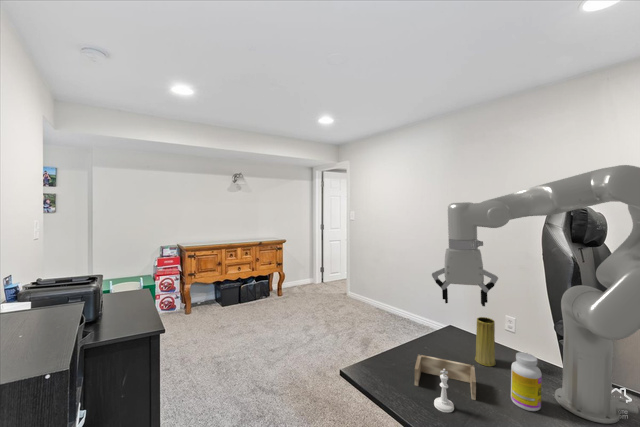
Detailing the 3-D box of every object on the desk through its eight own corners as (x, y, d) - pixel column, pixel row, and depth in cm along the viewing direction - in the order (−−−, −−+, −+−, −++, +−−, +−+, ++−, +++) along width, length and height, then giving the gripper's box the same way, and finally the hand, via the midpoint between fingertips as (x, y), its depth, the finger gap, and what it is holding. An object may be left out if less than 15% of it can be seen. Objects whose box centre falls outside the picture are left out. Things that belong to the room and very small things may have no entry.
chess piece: (456, 413, 75) (456, 375, 75) (435, 411, 76) (436, 373, 76) (451, 400, 80) (451, 365, 80) (432, 398, 81) (432, 363, 80)
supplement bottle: (542, 416, 74) (543, 366, 74) (511, 406, 78) (511, 358, 77) (539, 400, 80) (540, 354, 79) (510, 392, 83) (511, 348, 83)
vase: (495, 360, 100) (496, 318, 100) (495, 368, 95) (495, 325, 94) (475, 355, 103) (476, 315, 103) (474, 363, 98) (474, 321, 98)
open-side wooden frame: (473, 381, 88) (474, 365, 88) (475, 400, 80) (475, 382, 80) (418, 369, 95) (418, 354, 95) (414, 385, 87) (414, 368, 87)
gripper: (494, 243, 85) (496, 301, 86) (431, 242, 92) (432, 297, 93) (499, 247, 79) (501, 310, 79) (430, 246, 85) (432, 304, 86)
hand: (464, 303), depth 86 cm, fingers open, 9 cm apart
